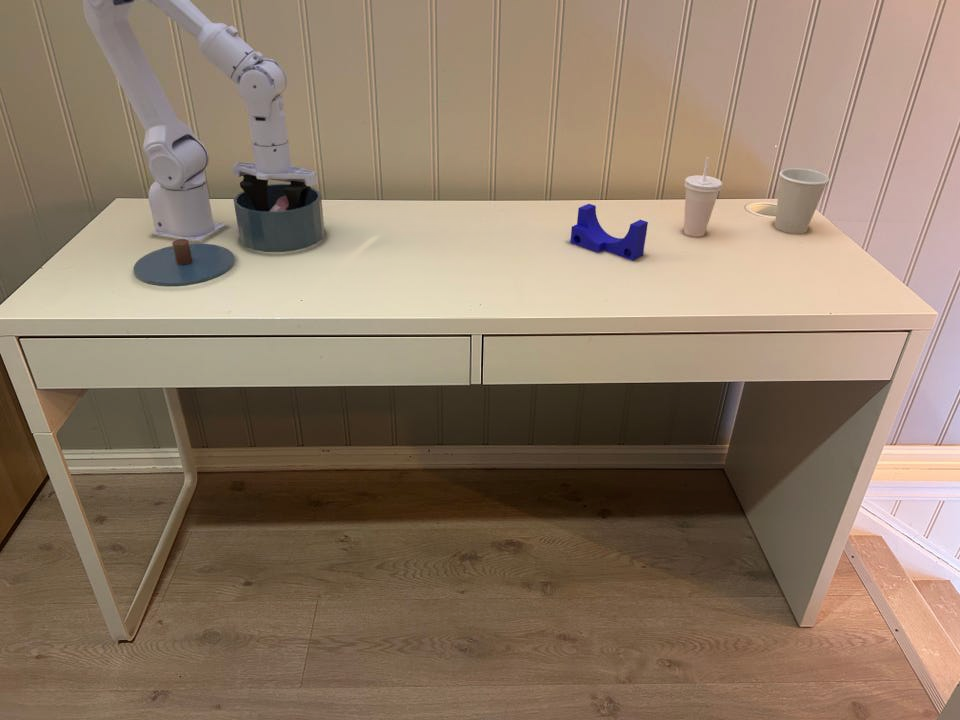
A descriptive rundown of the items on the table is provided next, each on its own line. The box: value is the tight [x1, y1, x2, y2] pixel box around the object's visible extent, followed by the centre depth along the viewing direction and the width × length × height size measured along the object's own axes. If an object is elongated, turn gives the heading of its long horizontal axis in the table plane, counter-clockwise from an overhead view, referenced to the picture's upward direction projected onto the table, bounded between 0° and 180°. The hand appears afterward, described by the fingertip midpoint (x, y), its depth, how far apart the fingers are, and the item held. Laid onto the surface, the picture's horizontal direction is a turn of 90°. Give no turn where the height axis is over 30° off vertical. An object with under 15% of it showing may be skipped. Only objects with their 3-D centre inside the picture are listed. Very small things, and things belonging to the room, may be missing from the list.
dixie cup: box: [774, 167, 830, 234], centre depth 133 cm, size 8×8×10 cm
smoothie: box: [683, 156, 723, 238], centre depth 129 cm, size 6×6×14 cm
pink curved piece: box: [269, 196, 290, 212], centre depth 125 cm, size 10×5×7 cm, turn 168°
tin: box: [233, 183, 326, 253], centre depth 125 cm, size 14×14×7 cm
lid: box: [133, 238, 235, 287], centre depth 115 cm, size 15×15×4 cm
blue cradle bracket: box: [569, 203, 649, 261], centre depth 124 cm, size 12×4×6 cm, turn 47°
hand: (280, 221), depth 125 cm, fingers closed on pink curved piece, 6 cm apart
